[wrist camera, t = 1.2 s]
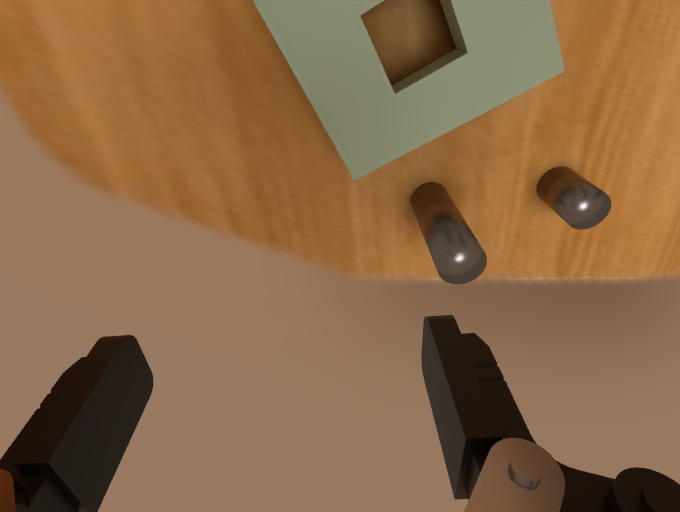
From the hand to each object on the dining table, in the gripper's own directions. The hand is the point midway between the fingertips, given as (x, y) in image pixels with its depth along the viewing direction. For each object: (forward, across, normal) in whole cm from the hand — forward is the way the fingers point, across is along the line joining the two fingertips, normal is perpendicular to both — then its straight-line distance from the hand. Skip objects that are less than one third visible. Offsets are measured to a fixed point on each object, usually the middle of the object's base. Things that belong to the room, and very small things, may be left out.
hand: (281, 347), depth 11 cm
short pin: (+23, -20, +6) cm, 31 cm away
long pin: (+23, -10, +7) cm, 26 cm away
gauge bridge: (+23, -7, -6) cm, 25 cm away
